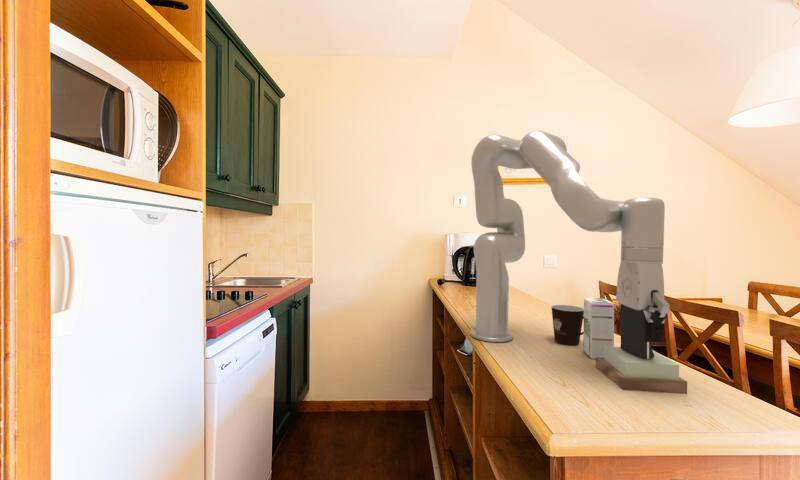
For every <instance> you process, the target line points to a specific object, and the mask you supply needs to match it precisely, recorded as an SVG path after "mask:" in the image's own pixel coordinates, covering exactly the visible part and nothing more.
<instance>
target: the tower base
mask: <svg viewBox="0 0 800 480" xmlns="http://www.w3.org/2000/svg"><path fill="white" fill-rule="evenodd" d="M595 368H597V370H599V371H600V372H601V373H602V374H604V376H605V377H607V378H608V379H609V380H610V381H611V382H613V383H614V384H615V385H616V386H617V387H619V388H620V389H621V390H622V391H629V392H630V391H631V392H632V391H634V392H648V393H649V392H651V393H653V392H654V393H668V394H669V393H670V394H688V381H687V380H685V379H684V378H682V377H680V376H679V380H671V379H656V378H640V377H625V376H624V375H623V374H621V373H620V372H619V371H618V370H616V369H615V368H614V367H613V366H612V365H610V364H609V363H608V362H607V361H605V360H604V358H600V357H596V359H595Z"/></svg>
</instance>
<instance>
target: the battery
mask: <svg viewBox="0 0 800 480" xmlns="http://www.w3.org/2000/svg"><path fill="white" fill-rule="evenodd" d="M619 311H620V327H619V328H620V329H619V330H620V331H619V332H620V347H621V349H622V350H624V351H626V352H628V353H630V354H633V355H635V356H638V357H640V358H643V359H649V358H654V353H653V351H652V350H653V348H652V342H646V341H645V340H644V322H647V320H646V317H645V314H644V312H643V309H642V310H641V311H637V310H634V309H631V308H629V307H626V306H624V305H622V304H621V306H620V310H619ZM650 313H651V316H652V315H653V313H654V312H650Z"/></svg>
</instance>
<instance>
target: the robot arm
mask: <svg viewBox="0 0 800 480" xmlns="http://www.w3.org/2000/svg"><path fill="white" fill-rule="evenodd" d="M567 150H568V149H567V145H566V143H565V141H564V140H563V139H562V138H561V137H559V136H557V135H554V134H551V133H550V132H549V133H548V132H546V131H543V130H534V131H530V132H528V133H526V134H525V135H524V136H523V138H521V140H517V139H515V138H512V137H509V136H505V135H501V134H490V135H487V136H484V137H483V138H482V139H481V140H479V142H478V143H477V144H476V146H475V147H474V150H473V152H472V156H471V171H472V177H473V184H474V185H473V187H474V199H475V215H476V221H477V223H478V224H479V225H480V226H481V227H482V228H488V229H496V231H495V232H494V231H493V232H492V231H491V232H485V233H482V234H481V235H479V236H478V237H477V238H476V239H475V241H474V245H473V254H474V255H473V257H474V263H475V270H476V271H475V272H476V276H475V277H476V278H475V279H476V283H475V285H476V289H475V290H476V291H475V293H476V295H475V307H476V308H475V327H474V328H472V329H471V330H470V336H471V337H472V338H474V339H475V340H476V339H477V340H480V341H482V342H483V341H484V342H491V343H505V342H510V341H512V340H513V339H514V333H513V332H512V331H510V330H509V299H510V298H509V297H510V296H509V295H510V293H509V291H510V279H509V278H510V277H509V272H508V269H507V265H506V264H511V263H515V262H517V261H519V260H520V259H522V257H524V254H525V250H526V238H525V224H524V223H525V221H524V214H523V210H522V207H521V206H520V204H519V203H518V202H517V201H515V200H514V199H511V198H506V197H505V193H504V182H503V179H502V175H501V173H500V172H499V167H503V168H508V169H514V170H523V169H532V170H534V171H535V172H536V173H537V174H538V176H539V177H540V178H542V180H544V181H545V183H546V184H547V185H548V186H549V188H550V191H551V193H552V196H553V198H554V200H555V202H556V203H557V205H558V206H559V207H560V208H561V210H562V211H563V212H564V213H565V214H566V215H567V217H569V218H570V220H571V221H572V222H573V223H574V224H576V225H577V226H578V227H579V228H581V229H583V230H584V231H588V232H594V233H595V232H596V233H615V232H621V233H620V236H621V238H620V264H619V266H618V267H619V268H618V273H617V279H616V280H617V282H616V295H615V297H616V298H615V299H616V302H617V303H618V311H619V312H618V313H619V314H618V327H619V328H620V306H621V304H622V305H624V306H626V307H629V308H631V309H634V310H637V311H641V310H642V309H643V312H644V314H645V317H646V320H647V322H644V340H645V341H646V342H651V343H662V342H663V336H664V332H663V331H664V330H663V328H664V323H665V322H666V319H667V317H668V312H669V310H670V308H671V306H670V304H669V302H668V301H667V300H666V299H665V277H664V269H663V264H664V242H665V241H664V239H665V212H666V211H665V210H666V209H665V202H664V201H663V200H662V199H661V198H658V197H636V198H630V199H629V198H628V199H627V200H624V201H622V200H621V201H620V200H611V199H605V198H601V197H600V196H598V195H597V194H596V193H595V191H594V190H592V189H591V188H590V186H588V185H587V184H586V183H585V181H584V180H583V179H582V178H581V176H580V174H579V173H580V170H581V164H580V162H578V161H577V159H575V158H574V157H573V156H572V155H571V154H570V153H569V152H568V151H567ZM650 312H654V313H653V315H652V316H651V313H650Z"/></svg>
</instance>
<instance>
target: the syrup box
mask: <svg viewBox="0 0 800 480" xmlns="http://www.w3.org/2000/svg"><path fill="white" fill-rule="evenodd" d="M583 309H584V315H583V317H584V319H583V331H582V332H583V335H582V337H583V341H582V344H583V349H582V350H583V352H584V353H585V354H586V355H587V356H588V358H590V359H595V360H596V357H600V358H604V346H608V347H615V346H614V345H615V303H614V302H612V301H610V300H608V299H606V298H598V297H597V298H596V297H587V298H586V297H585V298H583Z"/></svg>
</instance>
